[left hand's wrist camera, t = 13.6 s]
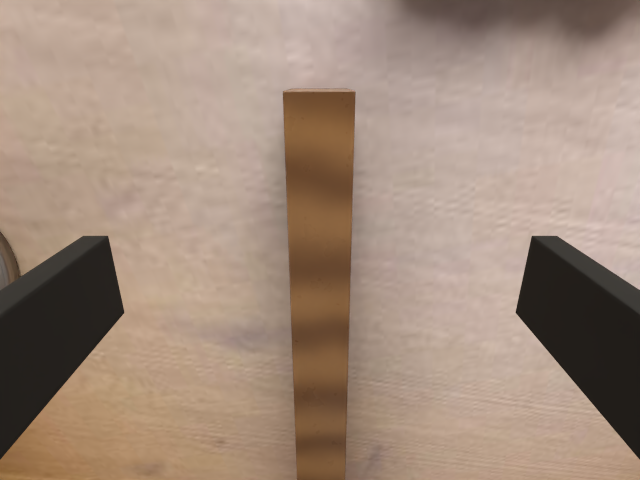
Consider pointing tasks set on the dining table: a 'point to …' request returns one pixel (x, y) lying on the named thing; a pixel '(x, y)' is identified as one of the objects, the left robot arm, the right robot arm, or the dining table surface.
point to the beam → (319, 271)
